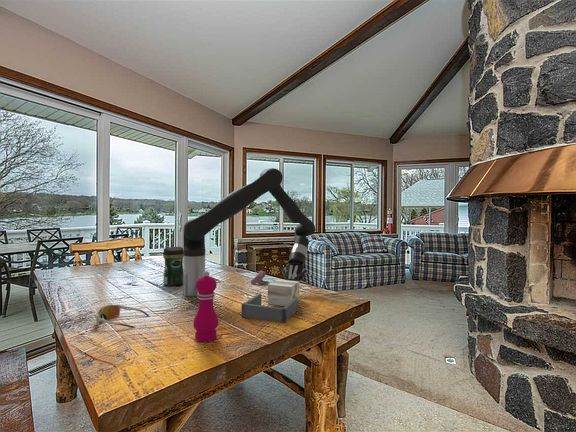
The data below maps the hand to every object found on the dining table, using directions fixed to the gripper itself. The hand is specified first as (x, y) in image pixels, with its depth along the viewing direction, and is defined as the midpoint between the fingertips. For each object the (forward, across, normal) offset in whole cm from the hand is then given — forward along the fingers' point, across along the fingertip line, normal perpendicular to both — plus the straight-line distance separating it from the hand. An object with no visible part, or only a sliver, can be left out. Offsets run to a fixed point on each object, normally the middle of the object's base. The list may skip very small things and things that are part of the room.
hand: (289, 287), depth 141 cm
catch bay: (+18, 0, -13) cm, 23 cm away
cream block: (+9, 0, -3) cm, 9 cm away
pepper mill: (+39, -10, -33) cm, 52 cm away
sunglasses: (+37, -44, -31) cm, 65 cm away
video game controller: (-11, -23, +16) cm, 30 cm away
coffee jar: (+3, -61, +3) cm, 61 cm away
